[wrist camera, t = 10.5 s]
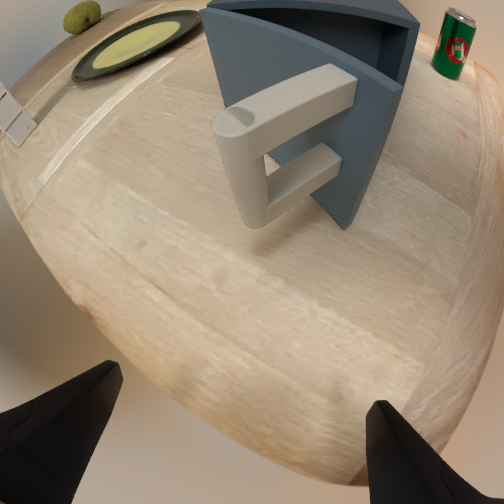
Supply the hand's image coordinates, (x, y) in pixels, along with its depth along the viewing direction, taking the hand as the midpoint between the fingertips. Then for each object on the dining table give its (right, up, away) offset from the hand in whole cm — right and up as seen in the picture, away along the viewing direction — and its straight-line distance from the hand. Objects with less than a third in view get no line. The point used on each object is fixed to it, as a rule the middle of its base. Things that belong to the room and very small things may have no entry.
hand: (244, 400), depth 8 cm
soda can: (+30, +33, +18) cm, 48 cm away
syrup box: (-43, +27, +26) cm, 57 cm away
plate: (-22, +45, +30) cm, 58 cm away
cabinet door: (0, +11, +14) cm, 17 cm away
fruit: (-64, +93, +53) cm, 125 cm away
